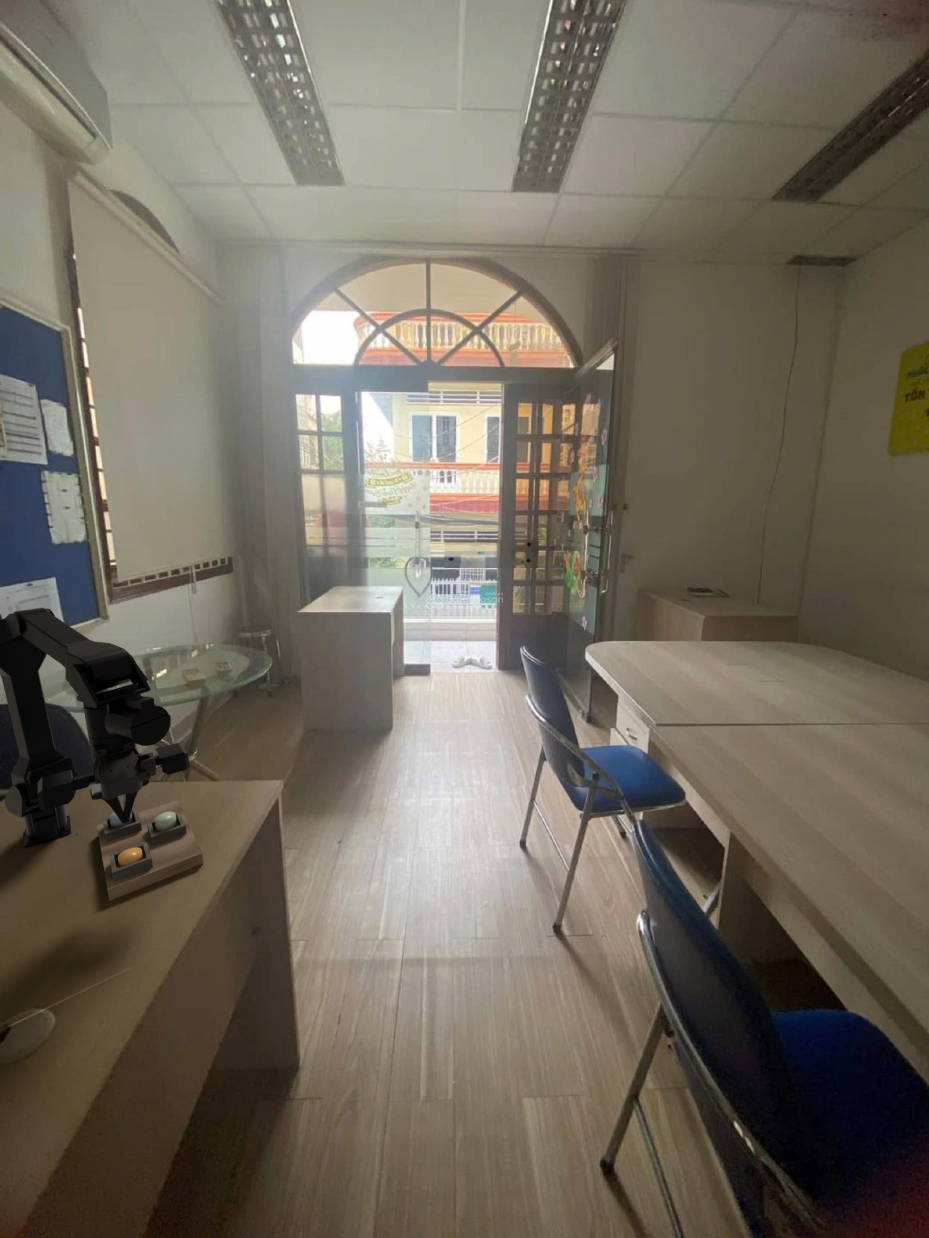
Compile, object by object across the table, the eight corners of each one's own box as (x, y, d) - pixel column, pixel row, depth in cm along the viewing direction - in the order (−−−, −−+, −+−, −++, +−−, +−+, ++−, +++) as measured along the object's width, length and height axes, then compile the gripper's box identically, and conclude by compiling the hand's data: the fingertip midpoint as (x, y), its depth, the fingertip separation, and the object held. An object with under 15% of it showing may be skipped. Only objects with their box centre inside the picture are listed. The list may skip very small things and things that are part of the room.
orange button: (118, 861, 79) (116, 852, 79) (141, 853, 81) (140, 844, 81) (120, 872, 77) (119, 863, 76) (144, 863, 79) (143, 854, 78)
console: (98, 835, 89) (95, 817, 88) (179, 808, 97) (177, 792, 97) (109, 901, 74) (106, 880, 74) (203, 863, 83) (201, 844, 82)
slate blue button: (109, 821, 88) (108, 813, 88) (131, 814, 90) (130, 806, 90) (111, 829, 86) (110, 821, 85) (133, 822, 88) (132, 814, 87)
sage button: (154, 824, 87) (153, 816, 87) (174, 817, 89) (173, 809, 89) (157, 833, 85) (156, 824, 84) (178, 825, 87) (177, 817, 87)
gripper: (28, 771, 62) (49, 877, 66) (191, 732, 74) (202, 823, 77) (30, 741, 71) (48, 836, 74) (177, 709, 82) (187, 792, 86)
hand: (125, 821), depth 77 cm, fingers closed
